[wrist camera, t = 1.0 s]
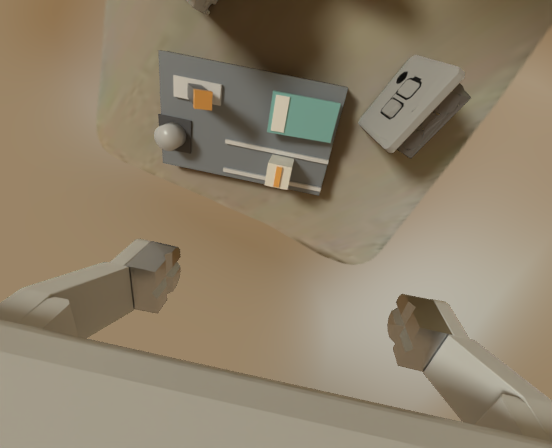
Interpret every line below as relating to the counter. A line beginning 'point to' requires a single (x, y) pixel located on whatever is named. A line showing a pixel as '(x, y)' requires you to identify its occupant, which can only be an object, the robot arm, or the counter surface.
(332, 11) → the counter surface
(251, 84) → the panel
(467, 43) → the counter surface
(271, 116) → the teal tile cream strip
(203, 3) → the circuit breaker
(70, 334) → the robot arm
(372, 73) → the counter surface
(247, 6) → the counter surface
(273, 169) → the cream cube orange stripe
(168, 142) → the button
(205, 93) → the toggle lever
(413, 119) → the electrical switch
